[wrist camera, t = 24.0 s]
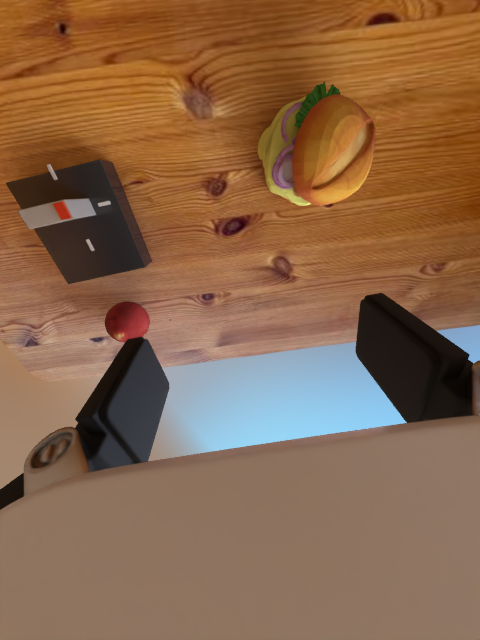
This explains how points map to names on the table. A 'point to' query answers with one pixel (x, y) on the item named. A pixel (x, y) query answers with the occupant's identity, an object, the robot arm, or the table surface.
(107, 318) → the onion
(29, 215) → the knob
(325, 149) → the cheeseburger
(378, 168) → the table surface
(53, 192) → the dial base
